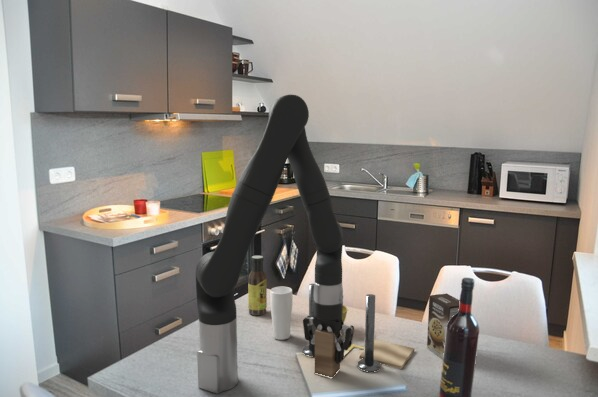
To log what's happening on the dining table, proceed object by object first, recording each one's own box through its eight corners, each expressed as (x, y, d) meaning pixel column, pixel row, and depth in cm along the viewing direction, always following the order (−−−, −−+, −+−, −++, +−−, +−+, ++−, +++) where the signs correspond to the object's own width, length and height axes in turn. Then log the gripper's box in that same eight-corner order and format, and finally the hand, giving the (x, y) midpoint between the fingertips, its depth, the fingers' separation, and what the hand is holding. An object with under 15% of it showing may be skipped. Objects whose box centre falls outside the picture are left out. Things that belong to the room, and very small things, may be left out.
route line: (351, 367, 128) (351, 366, 128) (334, 362, 131) (334, 361, 131) (367, 349, 139) (367, 348, 138) (351, 345, 141) (352, 344, 141)
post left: (317, 359, 133) (318, 290, 129) (298, 353, 136) (298, 286, 132) (327, 350, 138) (327, 283, 135) (308, 345, 141) (309, 280, 138)
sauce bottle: (262, 317, 161) (262, 260, 158) (245, 315, 163) (244, 258, 160) (269, 310, 167) (268, 255, 164) (252, 308, 169) (251, 253, 166)
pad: (401, 369, 127) (401, 366, 127) (359, 358, 133) (359, 355, 133) (414, 350, 137) (414, 348, 137) (374, 341, 143) (374, 339, 143)
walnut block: (331, 379, 122) (332, 334, 120) (314, 374, 125) (314, 330, 123) (340, 370, 127) (340, 327, 125) (323, 365, 129) (323, 323, 127)
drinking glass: (293, 332, 149) (293, 286, 147) (291, 342, 143) (291, 294, 140) (272, 331, 150) (271, 285, 148) (268, 341, 143) (268, 293, 141)
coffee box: (425, 348, 139) (428, 295, 137) (444, 344, 141) (446, 292, 139) (445, 362, 131) (448, 306, 128) (464, 358, 133) (468, 303, 131)
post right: (375, 374, 124) (377, 301, 121) (354, 368, 127) (355, 297, 124) (383, 364, 130) (385, 294, 126) (362, 359, 132) (364, 290, 129)
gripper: (296, 297, 123) (296, 359, 125) (348, 308, 116) (347, 372, 118) (310, 289, 129) (310, 347, 132) (359, 298, 122) (358, 360, 125)
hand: (327, 359), depth 125 cm, fingers open, 6 cm apart
